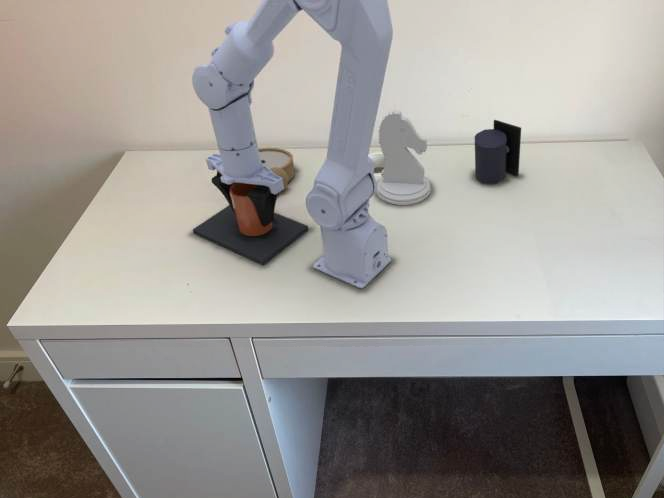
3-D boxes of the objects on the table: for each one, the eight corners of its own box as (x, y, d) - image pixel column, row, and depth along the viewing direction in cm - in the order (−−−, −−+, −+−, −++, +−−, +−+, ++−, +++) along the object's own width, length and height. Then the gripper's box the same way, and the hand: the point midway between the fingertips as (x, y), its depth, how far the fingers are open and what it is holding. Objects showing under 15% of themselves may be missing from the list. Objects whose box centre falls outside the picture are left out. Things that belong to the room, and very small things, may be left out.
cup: (280, 223, 96) (272, 184, 91) (256, 240, 92) (247, 201, 87) (255, 213, 98) (247, 174, 93) (232, 229, 95) (222, 190, 90)
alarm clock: (296, 146, 112) (285, 173, 99) (299, 170, 114) (289, 200, 101) (239, 148, 112) (220, 175, 99) (243, 172, 114) (225, 202, 102)
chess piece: (427, 206, 100) (429, 126, 90) (372, 203, 101) (367, 124, 91) (433, 177, 107) (434, 100, 97) (381, 174, 108) (377, 98, 98)
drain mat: (308, 229, 96) (307, 225, 95) (263, 265, 89) (262, 261, 89) (240, 202, 103) (239, 198, 102) (193, 233, 96) (192, 229, 96)
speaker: (499, 161, 110) (502, 113, 102) (519, 176, 106) (523, 127, 99) (467, 176, 108) (467, 128, 100) (485, 191, 104) (488, 142, 97)
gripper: (183, 140, 86) (205, 215, 95) (253, 166, 79) (269, 244, 88) (217, 122, 90) (235, 195, 99) (287, 145, 84) (299, 221, 93)
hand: (253, 217), depth 94 cm, fingers closed on cup, 5 cm apart
